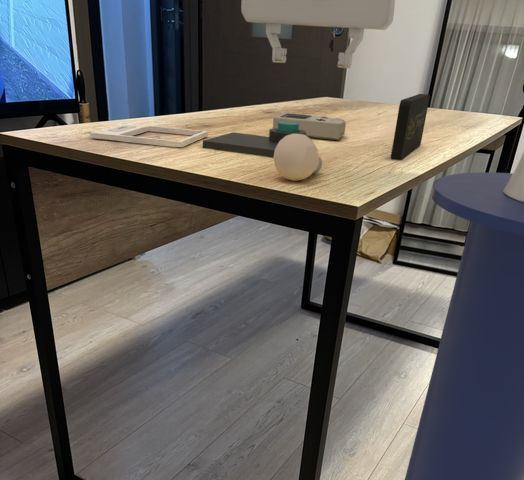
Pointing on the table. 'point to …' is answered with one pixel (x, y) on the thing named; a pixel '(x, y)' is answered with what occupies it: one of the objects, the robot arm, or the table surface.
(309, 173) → the light bulb
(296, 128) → the button
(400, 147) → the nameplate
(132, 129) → the photo frame
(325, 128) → the handheld gaming device
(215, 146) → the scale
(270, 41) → the robot arm
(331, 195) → the table surface
